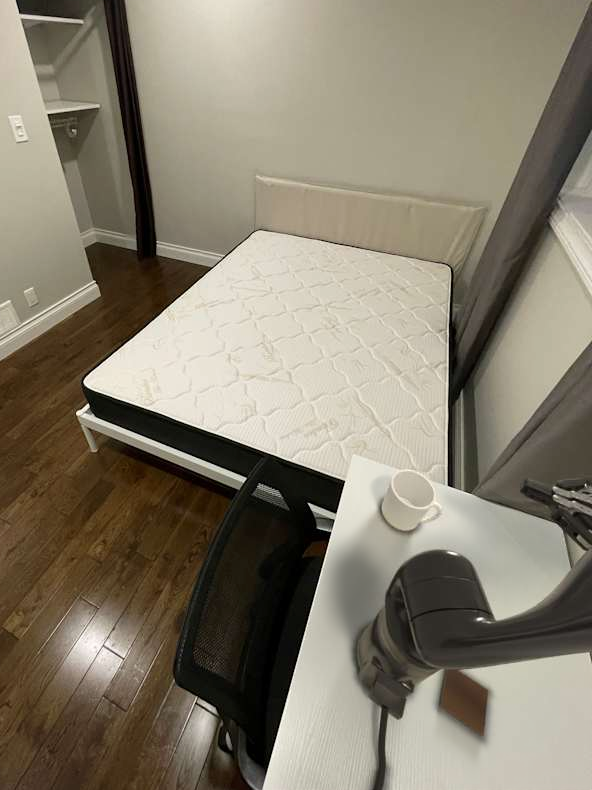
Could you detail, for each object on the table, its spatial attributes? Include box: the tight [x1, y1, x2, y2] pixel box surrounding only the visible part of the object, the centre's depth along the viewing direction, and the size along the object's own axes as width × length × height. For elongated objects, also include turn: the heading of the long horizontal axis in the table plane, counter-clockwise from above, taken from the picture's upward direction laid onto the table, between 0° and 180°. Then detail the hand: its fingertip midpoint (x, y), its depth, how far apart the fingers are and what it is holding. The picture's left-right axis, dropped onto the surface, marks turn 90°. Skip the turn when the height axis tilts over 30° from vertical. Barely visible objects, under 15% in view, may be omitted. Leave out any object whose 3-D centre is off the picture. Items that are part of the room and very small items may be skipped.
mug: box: [380, 468, 443, 532], centre depth 78 cm, size 11×9×10 cm
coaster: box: [439, 669, 489, 737], centre depth 58 cm, size 6×6×1 cm
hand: (522, 485), depth 61 cm, fingers closed
